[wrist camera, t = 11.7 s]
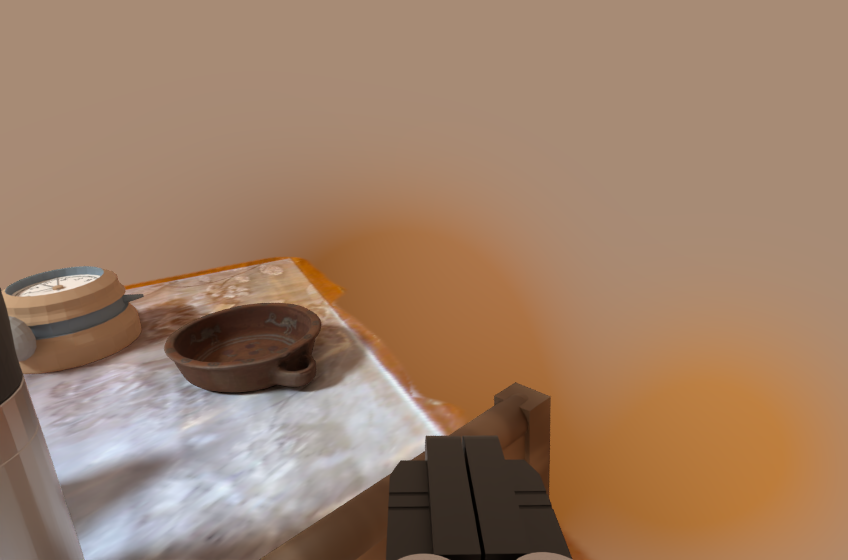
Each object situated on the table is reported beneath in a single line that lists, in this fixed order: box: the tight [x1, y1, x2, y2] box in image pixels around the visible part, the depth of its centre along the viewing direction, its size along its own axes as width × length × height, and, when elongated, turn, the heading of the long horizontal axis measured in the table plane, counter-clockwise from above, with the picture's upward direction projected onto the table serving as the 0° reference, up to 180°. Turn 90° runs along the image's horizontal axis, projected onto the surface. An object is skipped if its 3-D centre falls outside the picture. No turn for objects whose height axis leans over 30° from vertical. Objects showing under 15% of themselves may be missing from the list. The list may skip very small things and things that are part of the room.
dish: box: [164, 303, 321, 392], centre depth 70 cm, size 18×22×5 cm
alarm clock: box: [2, 266, 143, 374], centre depth 77 cm, size 17×9×23 cm
